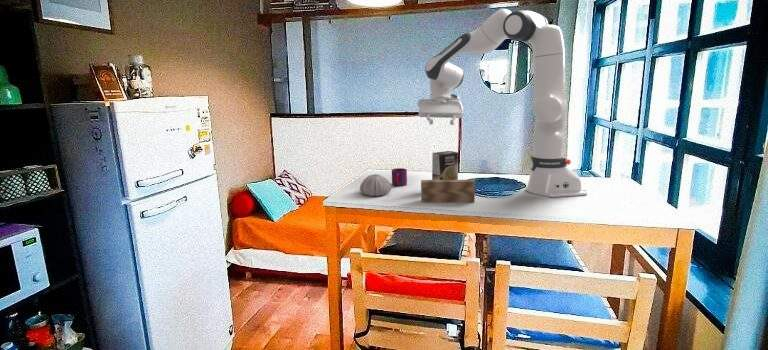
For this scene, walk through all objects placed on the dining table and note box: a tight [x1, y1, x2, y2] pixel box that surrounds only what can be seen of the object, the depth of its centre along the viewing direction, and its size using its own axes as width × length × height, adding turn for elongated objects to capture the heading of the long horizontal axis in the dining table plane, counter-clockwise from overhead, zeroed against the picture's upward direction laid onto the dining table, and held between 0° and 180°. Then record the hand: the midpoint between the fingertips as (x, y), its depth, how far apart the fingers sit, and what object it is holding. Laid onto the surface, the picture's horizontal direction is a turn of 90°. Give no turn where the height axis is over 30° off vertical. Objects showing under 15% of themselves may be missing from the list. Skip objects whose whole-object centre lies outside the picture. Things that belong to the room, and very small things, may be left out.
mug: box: [391, 167, 408, 187], centre depth 176 cm, size 7×10×7 cm
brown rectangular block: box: [420, 179, 476, 203], centre depth 153 cm, size 20×5×8 cm, turn 85°
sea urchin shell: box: [359, 173, 392, 197], centre depth 165 cm, size 13×14×8 cm
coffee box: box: [431, 150, 459, 180], centre depth 166 cm, size 9×6×16 cm
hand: (441, 123), depth 178 cm, fingers open, 8 cm apart
